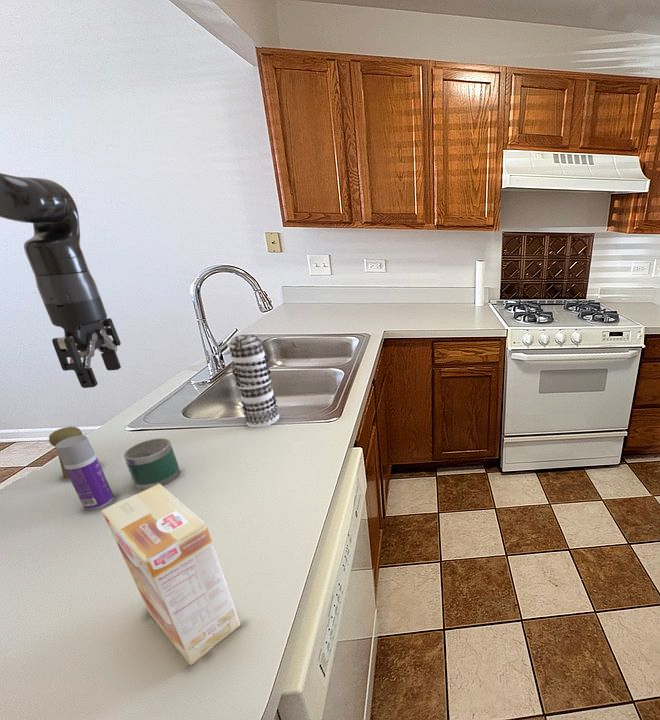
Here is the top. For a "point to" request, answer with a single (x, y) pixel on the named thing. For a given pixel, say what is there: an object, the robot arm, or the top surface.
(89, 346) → the robot arm
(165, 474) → the tin can
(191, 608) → the coffeecake box
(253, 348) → the decorative candle
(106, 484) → the container
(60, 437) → the cork
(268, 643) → the top surface
